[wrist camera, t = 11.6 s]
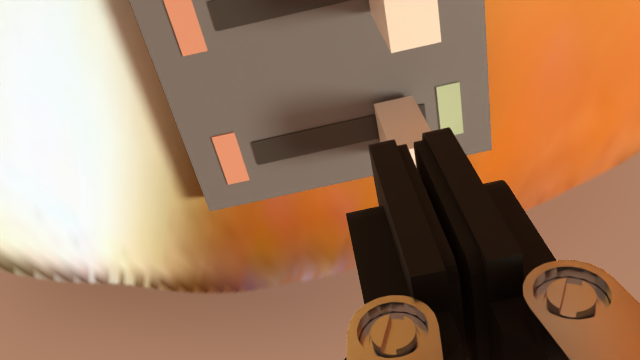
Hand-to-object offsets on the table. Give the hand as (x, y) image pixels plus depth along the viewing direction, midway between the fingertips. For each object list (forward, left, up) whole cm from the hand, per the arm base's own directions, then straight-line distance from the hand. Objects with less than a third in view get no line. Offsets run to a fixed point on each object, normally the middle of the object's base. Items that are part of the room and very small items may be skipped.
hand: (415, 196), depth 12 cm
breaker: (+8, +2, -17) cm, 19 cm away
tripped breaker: (0, +2, -17) cm, 17 cm away
